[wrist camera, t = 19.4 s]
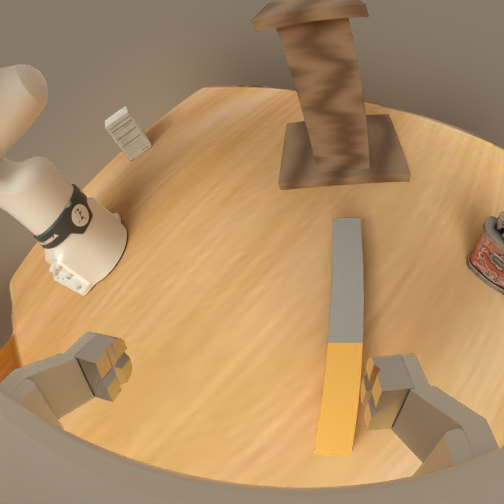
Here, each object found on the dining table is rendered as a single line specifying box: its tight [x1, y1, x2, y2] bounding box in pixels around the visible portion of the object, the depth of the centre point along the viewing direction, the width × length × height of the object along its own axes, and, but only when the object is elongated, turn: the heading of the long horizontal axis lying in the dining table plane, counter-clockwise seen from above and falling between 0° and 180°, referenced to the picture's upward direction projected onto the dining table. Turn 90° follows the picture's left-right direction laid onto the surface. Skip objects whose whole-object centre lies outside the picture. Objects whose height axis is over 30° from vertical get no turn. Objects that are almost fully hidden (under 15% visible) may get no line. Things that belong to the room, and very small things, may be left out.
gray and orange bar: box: [314, 217, 364, 456], centre depth 28 cm, size 3×26×3 cm, turn 170°
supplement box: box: [105, 106, 152, 161], centre depth 66 cm, size 7×7×13 cm
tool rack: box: [251, 0, 410, 190], centre depth 34 cm, size 20×17×26 cm
